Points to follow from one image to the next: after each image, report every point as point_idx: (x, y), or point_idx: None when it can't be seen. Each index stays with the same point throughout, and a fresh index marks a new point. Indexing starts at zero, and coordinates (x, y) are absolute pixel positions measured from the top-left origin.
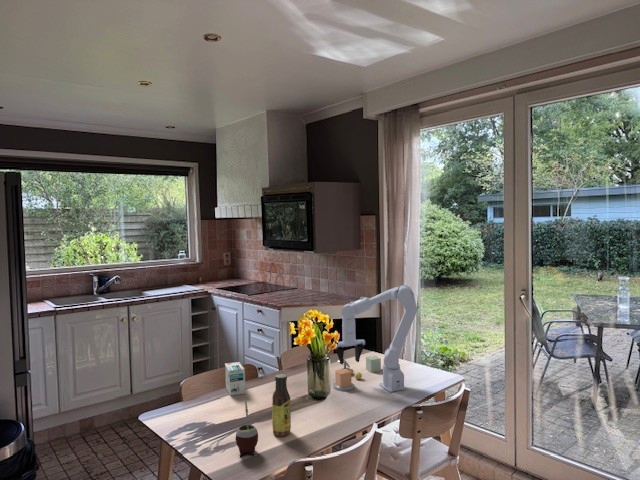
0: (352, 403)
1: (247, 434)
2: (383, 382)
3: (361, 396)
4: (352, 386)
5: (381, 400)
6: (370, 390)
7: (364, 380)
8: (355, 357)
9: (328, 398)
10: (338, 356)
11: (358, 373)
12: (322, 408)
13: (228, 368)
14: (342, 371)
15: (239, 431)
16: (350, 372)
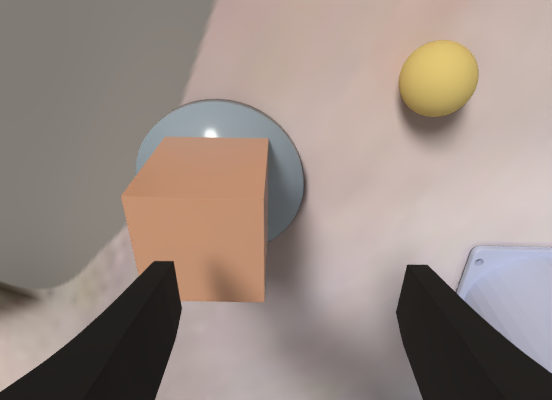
0: (182, 371)
1: None
2: (479, 307)
3: (263, 331)
4: (271, 232)
5: (330, 390)
6: (359, 290)
7: (449, 124)
8: (425, 296)
9: (69, 291)
10: (90, 336)
11: (437, 106)
12: (21, 365)
13: None
14: (188, 254)
15: None
16: (254, 301)
